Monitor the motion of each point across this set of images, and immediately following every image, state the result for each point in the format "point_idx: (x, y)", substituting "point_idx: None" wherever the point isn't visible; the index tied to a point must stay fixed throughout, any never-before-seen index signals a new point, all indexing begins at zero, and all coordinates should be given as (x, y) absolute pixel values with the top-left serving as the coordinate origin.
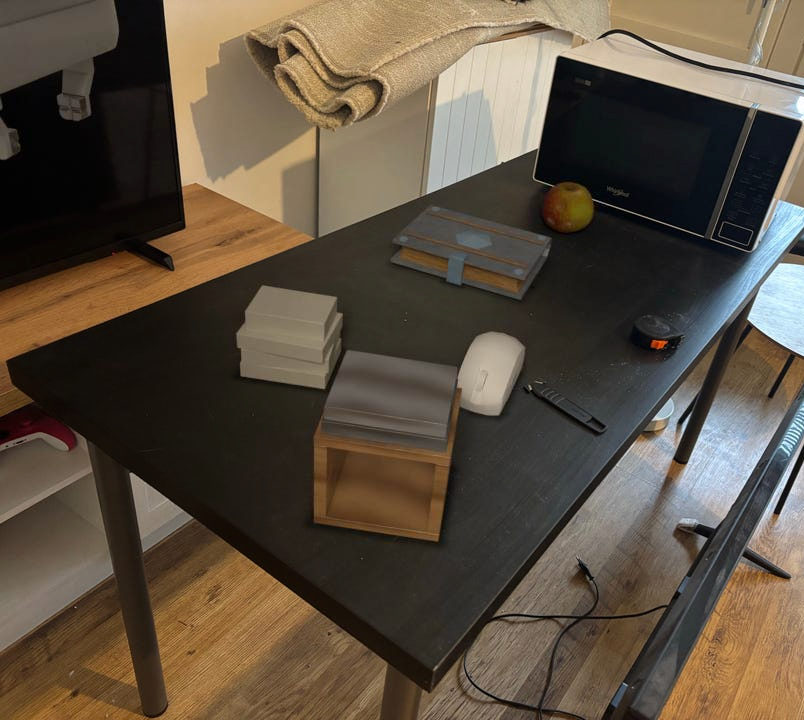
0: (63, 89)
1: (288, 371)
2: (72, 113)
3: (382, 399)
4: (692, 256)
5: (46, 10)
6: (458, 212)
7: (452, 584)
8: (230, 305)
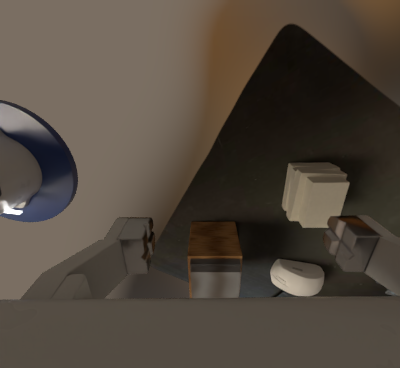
0: (386, 243)
1: (287, 192)
2: (332, 238)
3: (202, 291)
4: None
5: None
6: None
7: (175, 266)
8: (372, 129)
